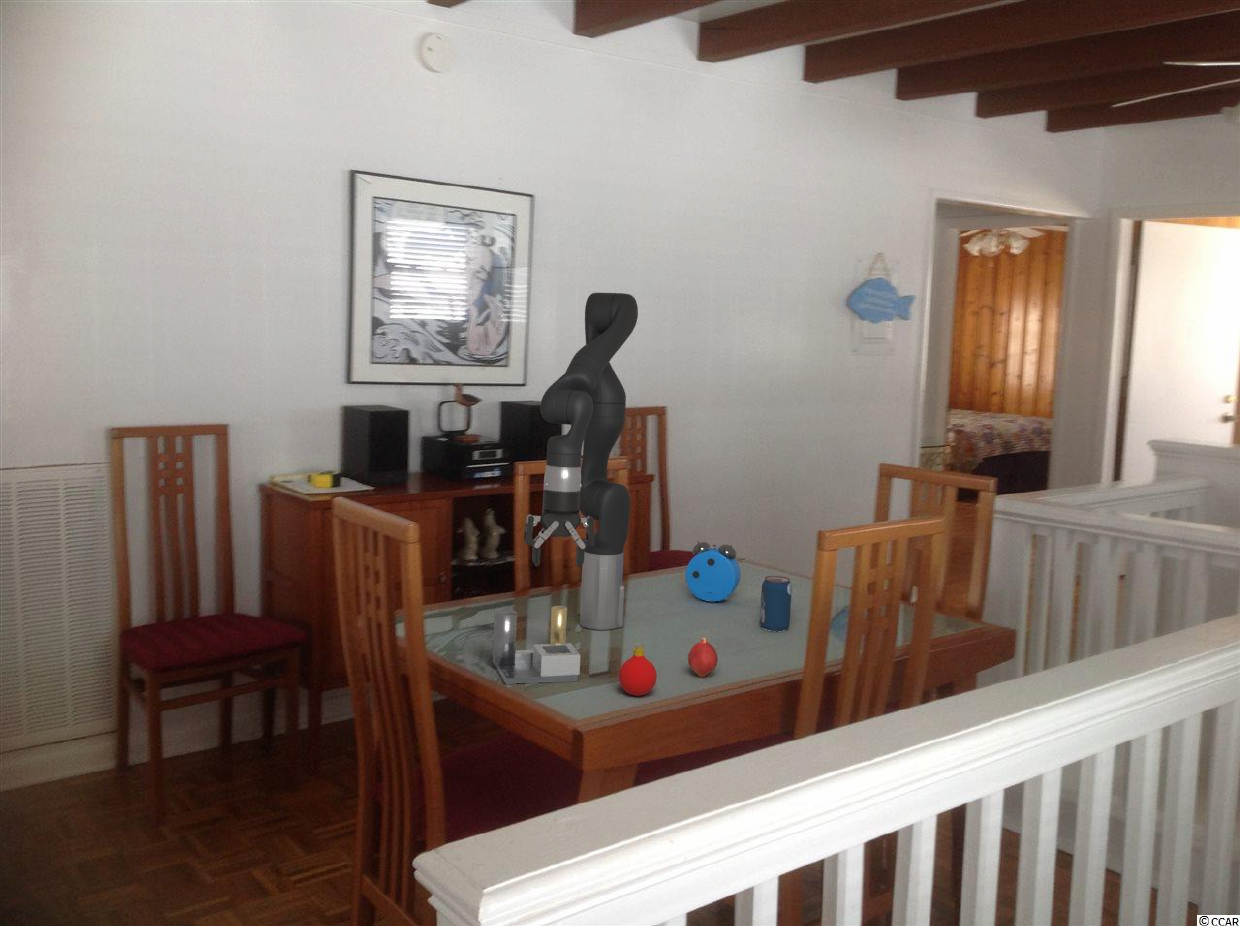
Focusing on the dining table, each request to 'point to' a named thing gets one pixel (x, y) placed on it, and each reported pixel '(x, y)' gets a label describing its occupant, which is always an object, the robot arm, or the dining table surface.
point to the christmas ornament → (637, 674)
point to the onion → (702, 658)
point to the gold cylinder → (558, 625)
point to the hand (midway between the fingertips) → (557, 565)
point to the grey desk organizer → (531, 656)
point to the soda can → (775, 603)
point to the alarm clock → (713, 572)
